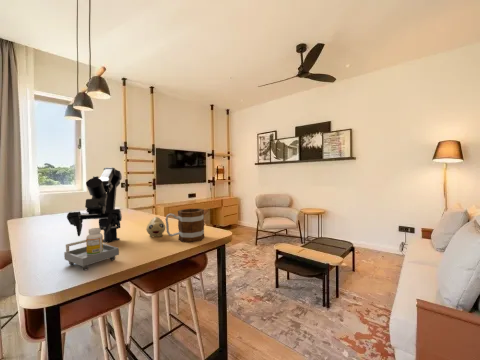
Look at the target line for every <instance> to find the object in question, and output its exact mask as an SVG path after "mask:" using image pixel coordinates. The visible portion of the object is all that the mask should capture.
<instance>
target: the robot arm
mask: <svg viewBox="0 0 480 360" xmlns="http://www.w3.org/2000/svg"><path fill="white" fill-rule="evenodd" d="M122 178H123V177H122V173H121V171H120V170H117V169H116V168H115V167H104V168H103V172H102V173H101V175H100V176H98V175H97V176H92V178H89V179H88V180H87V181H85V185H86V188H87V190H88V193H89V195H90V196H91V198H87V199H85V204H84V205H85V206H84V207H85V208H86V213H84V214H83V213H81V211H69V212H68V213H67V214H66V219H67V221H68V222H69V224H70V225H72V226H74V227H75V228H76V229H75V230H76V234H77V237H80V236H81V234H82V229H83V223H84V220H98V228H100V229H101V231H103V242H104V243H106V244H107V243H112V242H115V241H119V240H120V239H121V238H120V237H119V238H118V233H117V230H119V229H121V221H122V219H123V218H122V217H123V215H122V210H121V209H120V208H116V201H117V200H116V197H117V188H118V186H119V185H120V184H121V181H122Z"/></svg>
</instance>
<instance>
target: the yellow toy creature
mask: <svg viewBox="0 0 480 360" xmlns="http://www.w3.org/2000/svg"><path fill="white" fill-rule="evenodd" d="M145 230H146V232H147V234H148V235H149V238H153V237H161V238H162V237H163V234H164V233H165V231H166V223H164V221H163V220H162V219H161V218H160V217H158V216H154V217H152V218H151V219H150V221H149V222H148V224H147V225H146V229H145Z"/></svg>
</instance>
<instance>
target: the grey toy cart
mask: <svg viewBox="0 0 480 360" xmlns="http://www.w3.org/2000/svg"><path fill="white" fill-rule="evenodd" d="M84 243H86V239H83V240H79V241H75V242H71V243H70V242H69V243H67V244H65V251H64V254H63V255H64V260H65V261H68V264H69V266H72V265H78V266H81V269H82V270H83V271H86V270H88V269H89V265H92V264H96V263H98V262H101V261H105V260H107V259H109V260H110V262H111V261H115V260H116V257H117V256H119V255H120V254H119V253H120V252H119V251H120V249H119V247H116V246H113V245H110V244H107V243H105V244H104V243H103V252H102V253H98V254H95V255H92V256H89V255H87V245H86V246H83V247H79V248H75V249H71V250H70V247H72V246H76V245H81V244H84Z"/></svg>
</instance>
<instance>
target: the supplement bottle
mask: <svg viewBox="0 0 480 360" xmlns="http://www.w3.org/2000/svg"><path fill="white" fill-rule="evenodd" d="M103 239H104V234H103V233H102V230H101V229H100V228H99V227H92V228H89V229H88V235H86V239H85V240H86V242H85V243H86V246H87V255H89V256H92V255H95V254H98V253H102V252H103V244H104V243H103Z"/></svg>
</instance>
